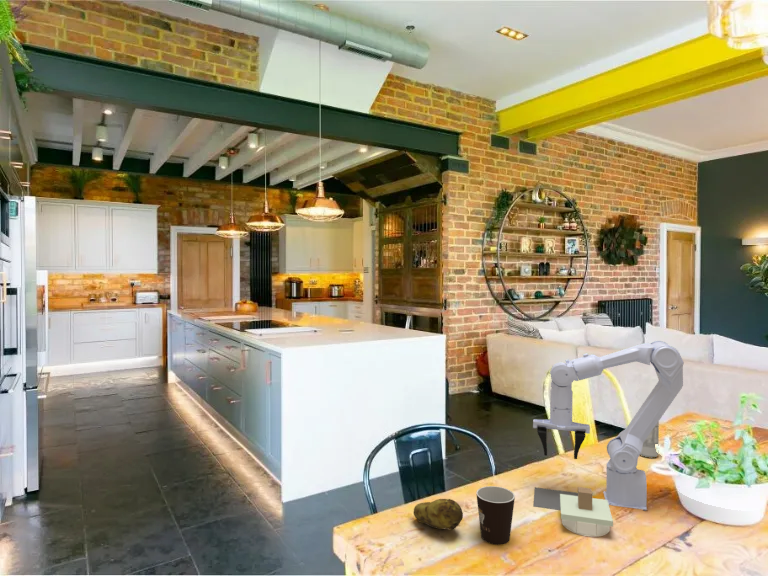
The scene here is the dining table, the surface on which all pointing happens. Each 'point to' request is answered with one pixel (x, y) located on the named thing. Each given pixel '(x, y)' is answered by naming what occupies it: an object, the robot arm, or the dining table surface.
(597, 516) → the lid
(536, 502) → the mat
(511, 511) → the coffee mug
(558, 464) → the dining table surface
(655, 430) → the energy drink can
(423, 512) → the potato
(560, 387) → the robot arm
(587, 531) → the dish
